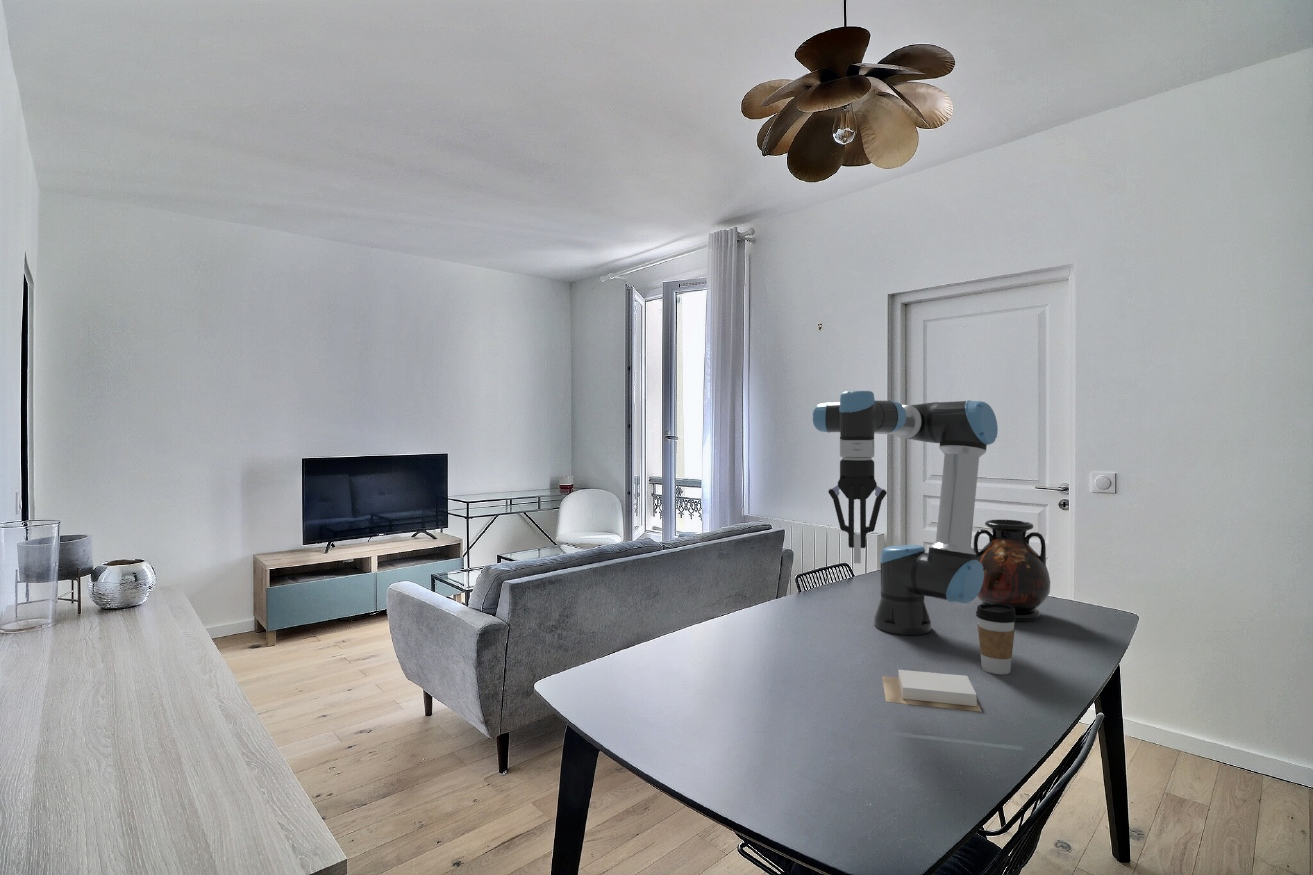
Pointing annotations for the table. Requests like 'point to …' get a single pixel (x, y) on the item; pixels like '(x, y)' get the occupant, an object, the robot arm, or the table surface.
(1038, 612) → the amphora vase
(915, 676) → the tile
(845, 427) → the robot arm
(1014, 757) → the table surface
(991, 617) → the coffee cup
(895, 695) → the mat
